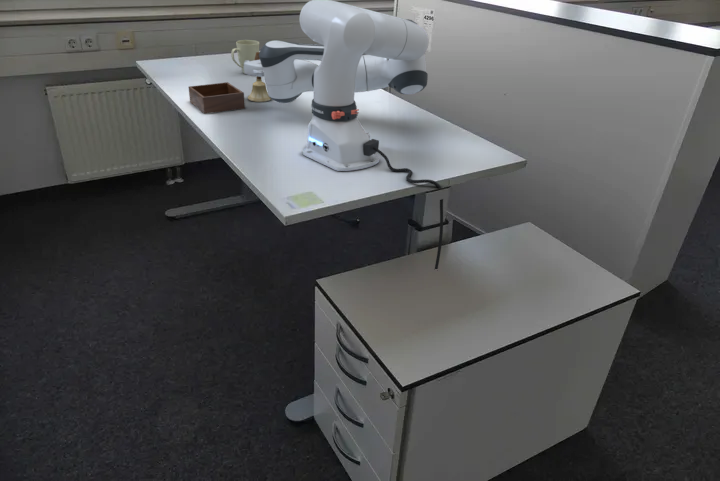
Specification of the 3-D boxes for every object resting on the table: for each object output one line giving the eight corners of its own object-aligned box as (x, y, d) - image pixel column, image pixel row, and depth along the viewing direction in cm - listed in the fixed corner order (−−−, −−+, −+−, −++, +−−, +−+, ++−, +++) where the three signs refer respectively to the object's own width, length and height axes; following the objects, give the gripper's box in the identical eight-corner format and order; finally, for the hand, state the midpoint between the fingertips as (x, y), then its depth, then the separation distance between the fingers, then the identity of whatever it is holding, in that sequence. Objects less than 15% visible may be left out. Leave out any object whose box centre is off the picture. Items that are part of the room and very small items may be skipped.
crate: (244, 108, 187) (243, 92, 184) (204, 113, 180) (203, 97, 178) (228, 97, 197) (227, 82, 194) (190, 102, 190) (188, 86, 187)
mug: (238, 69, 230) (236, 39, 224) (262, 70, 230) (261, 40, 224) (232, 76, 221) (230, 44, 215) (257, 77, 221) (255, 46, 214)
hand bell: (276, 98, 198) (275, 52, 190) (260, 103, 192) (258, 56, 184) (259, 93, 202) (257, 48, 194) (242, 98, 196) (239, 51, 188)
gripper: (260, 83, 177) (233, 74, 185) (306, 73, 191) (279, 65, 199) (259, 63, 174) (231, 55, 182) (306, 55, 188) (279, 47, 195)
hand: (257, 60), depth 190 cm, fingers open, 8 cm apart
